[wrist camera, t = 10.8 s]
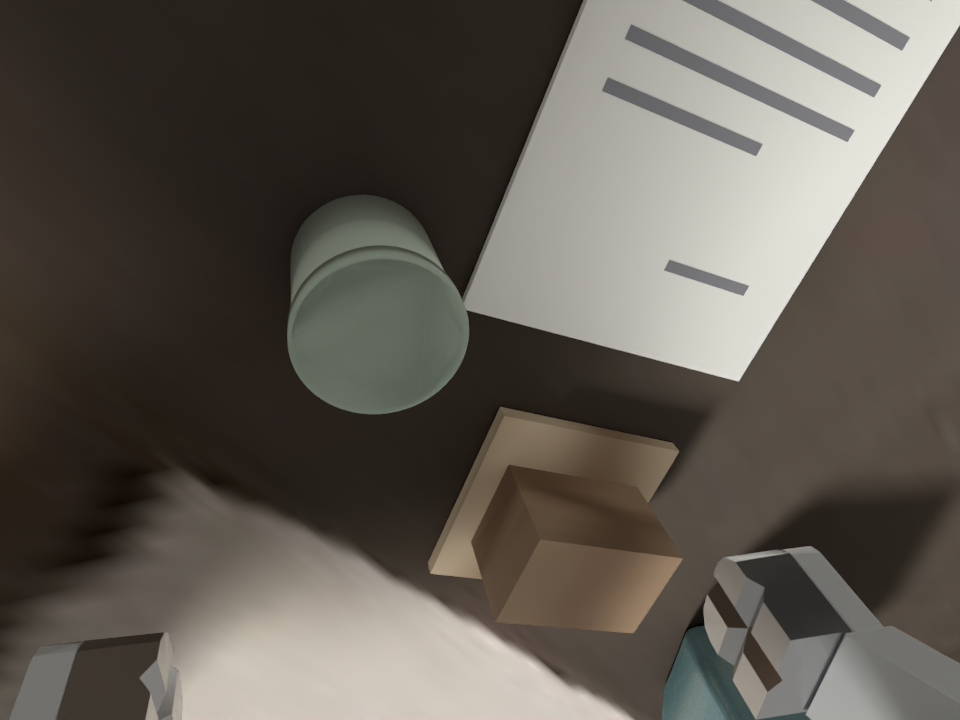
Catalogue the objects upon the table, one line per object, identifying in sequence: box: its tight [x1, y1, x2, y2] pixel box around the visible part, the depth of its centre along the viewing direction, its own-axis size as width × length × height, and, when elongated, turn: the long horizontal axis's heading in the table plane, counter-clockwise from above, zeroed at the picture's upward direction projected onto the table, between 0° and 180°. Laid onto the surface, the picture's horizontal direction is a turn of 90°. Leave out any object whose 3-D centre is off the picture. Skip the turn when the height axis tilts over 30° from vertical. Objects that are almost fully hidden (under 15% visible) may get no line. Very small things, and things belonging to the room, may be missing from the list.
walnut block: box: [471, 465, 683, 633], centre depth 27 cm, size 6×4×4 cm, turn 68°
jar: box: [287, 195, 469, 414], centre depth 20 cm, size 5×5×5 cm
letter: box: [462, 0, 960, 381], centre depth 22 cm, size 12×17×1 cm
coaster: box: [428, 407, 679, 579], centre depth 29 cm, size 8×8×1 cm
